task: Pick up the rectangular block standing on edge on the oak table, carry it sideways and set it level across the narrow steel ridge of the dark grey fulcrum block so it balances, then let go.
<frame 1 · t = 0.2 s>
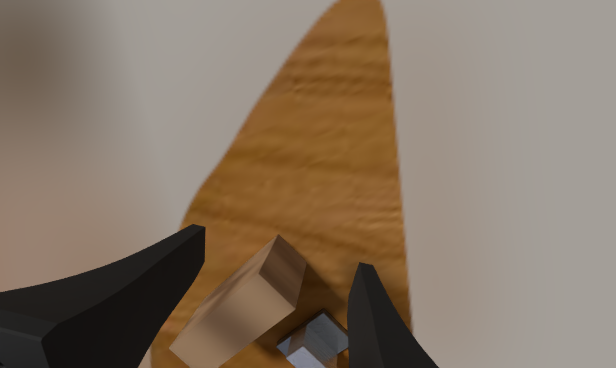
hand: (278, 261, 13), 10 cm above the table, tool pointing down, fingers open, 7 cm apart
fulcrum: (314, 339, 27), on the table
rectangular block: (254, 280, 26), on the table
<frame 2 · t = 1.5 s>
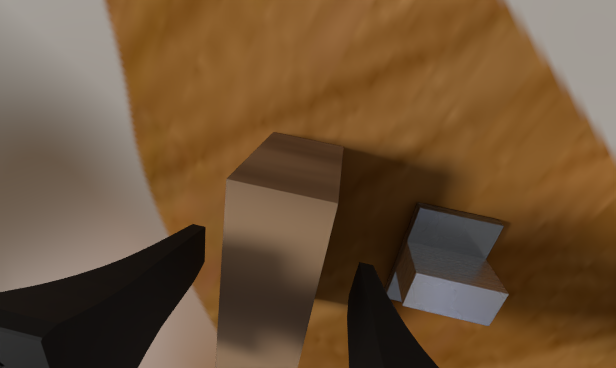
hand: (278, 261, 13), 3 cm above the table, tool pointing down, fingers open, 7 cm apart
fulcrum: (436, 257, 16), on the table
rectangular block: (293, 223, 16), on the table
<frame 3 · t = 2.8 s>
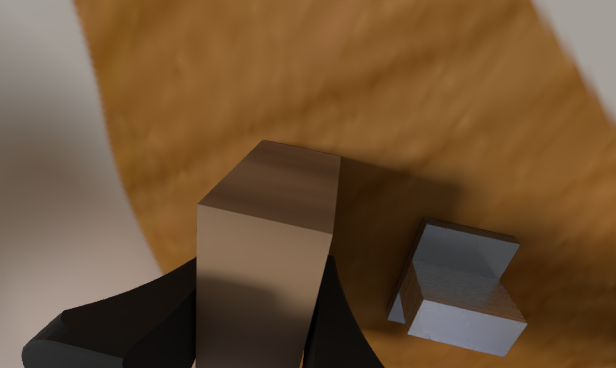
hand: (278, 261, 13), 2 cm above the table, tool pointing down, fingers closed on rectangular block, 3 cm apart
fulcrum: (443, 277, 14), on the table
rectangular block: (285, 240, 15), on the table, touching gripper
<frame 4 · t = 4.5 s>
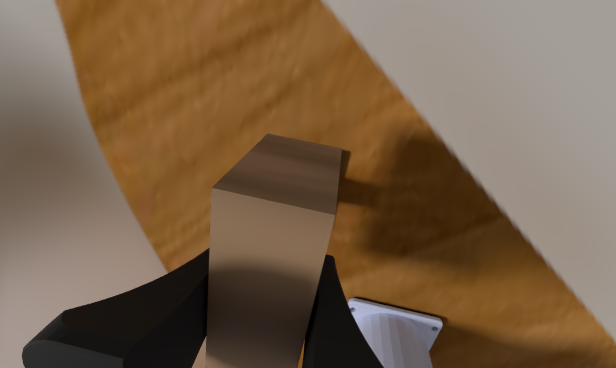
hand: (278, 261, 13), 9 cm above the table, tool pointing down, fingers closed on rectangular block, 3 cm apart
rectangular block: (289, 230, 16), point 6 cm above the table, touching gripper
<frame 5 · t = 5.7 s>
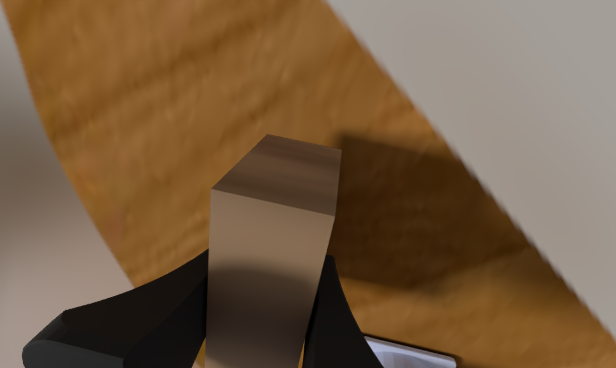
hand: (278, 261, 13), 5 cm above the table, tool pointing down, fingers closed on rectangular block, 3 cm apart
rectangular block: (288, 231, 16), point 3 cm above the table, touching fulcrum, gripper
when the fingers open (5 cm above the table, at t = 6.1 s): rectangular block stays where it is, resting on fulcrum.
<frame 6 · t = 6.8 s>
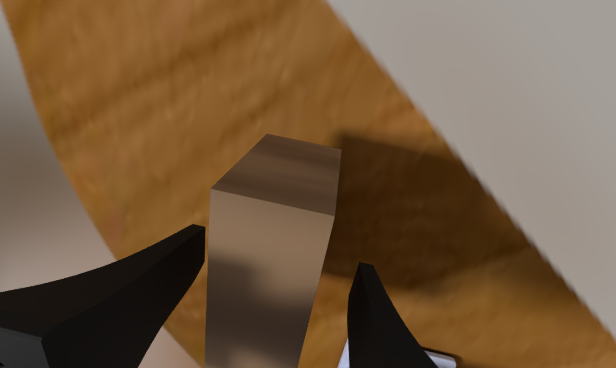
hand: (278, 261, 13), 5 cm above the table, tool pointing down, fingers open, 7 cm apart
rectangular block: (288, 231, 16), point 3 cm above the table, touching fulcrum
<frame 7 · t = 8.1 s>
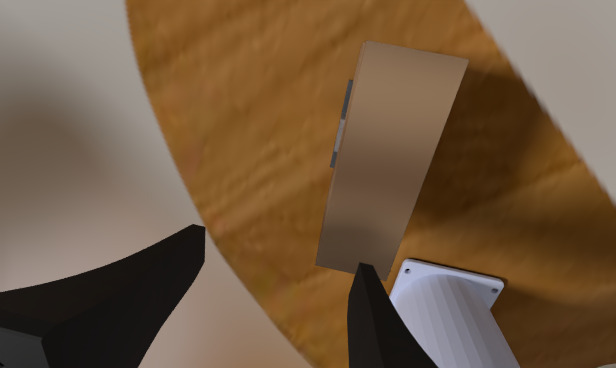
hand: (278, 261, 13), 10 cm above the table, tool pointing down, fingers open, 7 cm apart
fulcrum: (367, 130, 20), on the table
rectangular block: (370, 141, 18), point 3 cm above the table, touching fulcrum
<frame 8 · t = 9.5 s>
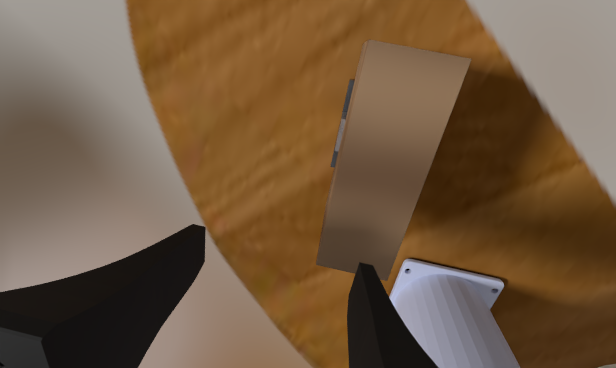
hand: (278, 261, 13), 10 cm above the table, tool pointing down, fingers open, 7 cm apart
fulcrum: (368, 129, 20), on the table
rectangular block: (370, 140, 18), point 3 cm above the table, touching fulcrum
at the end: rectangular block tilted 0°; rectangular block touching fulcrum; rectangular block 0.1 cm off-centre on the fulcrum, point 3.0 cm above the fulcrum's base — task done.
